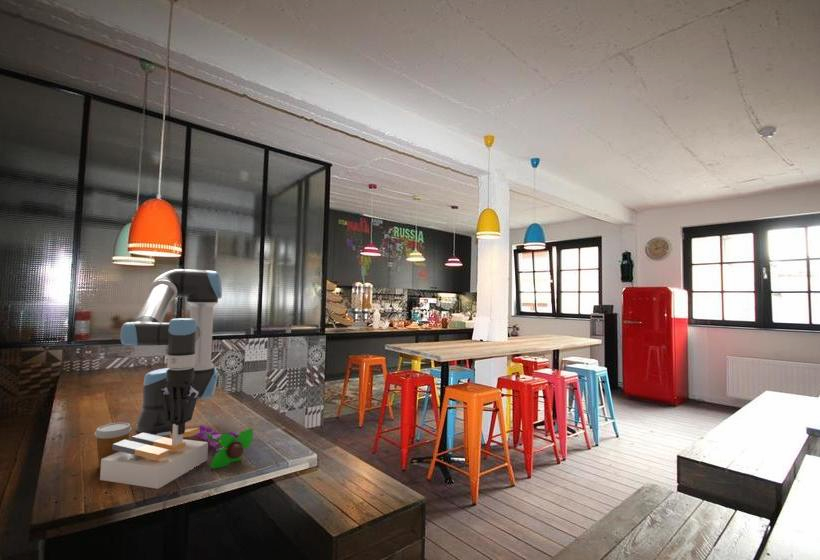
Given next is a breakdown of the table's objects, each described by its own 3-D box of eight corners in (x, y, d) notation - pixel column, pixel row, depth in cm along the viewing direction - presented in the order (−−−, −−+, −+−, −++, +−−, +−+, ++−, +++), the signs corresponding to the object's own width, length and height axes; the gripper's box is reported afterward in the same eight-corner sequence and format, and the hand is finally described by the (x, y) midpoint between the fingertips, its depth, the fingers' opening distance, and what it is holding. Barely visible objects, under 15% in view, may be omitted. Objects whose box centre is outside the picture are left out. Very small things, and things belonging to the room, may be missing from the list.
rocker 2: (149, 442, 131) (148, 437, 131) (159, 437, 135) (158, 433, 135) (191, 436, 128) (190, 431, 128) (200, 432, 132) (199, 427, 132)
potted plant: (225, 485, 124) (186, 460, 148) (268, 446, 136) (226, 428, 159) (205, 456, 121) (168, 434, 145) (251, 418, 132) (210, 404, 156)
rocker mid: (131, 441, 125) (131, 436, 125) (142, 437, 129) (142, 432, 129) (175, 451, 122) (175, 446, 122) (184, 446, 126) (185, 441, 126)
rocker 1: (112, 449, 118) (112, 444, 118) (124, 444, 122) (124, 439, 122) (157, 460, 115) (158, 454, 115) (168, 454, 119) (169, 449, 119)
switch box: (100, 479, 117) (101, 454, 117) (155, 453, 137) (157, 431, 137) (158, 488, 113) (159, 462, 113) (207, 460, 133) (208, 437, 133)
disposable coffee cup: (105, 458, 131) (107, 421, 132) (136, 458, 132) (138, 422, 133) (84, 471, 122) (87, 431, 122) (117, 471, 123) (119, 432, 123)
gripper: (153, 368, 122) (149, 446, 121) (190, 371, 120) (186, 451, 119) (172, 364, 130) (168, 438, 129) (207, 367, 127) (204, 442, 126)
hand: (177, 444), depth 124 cm, fingers closed
